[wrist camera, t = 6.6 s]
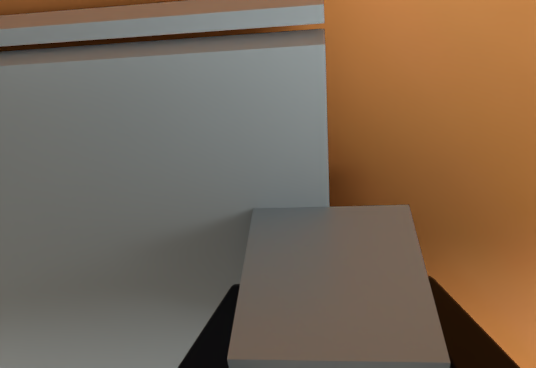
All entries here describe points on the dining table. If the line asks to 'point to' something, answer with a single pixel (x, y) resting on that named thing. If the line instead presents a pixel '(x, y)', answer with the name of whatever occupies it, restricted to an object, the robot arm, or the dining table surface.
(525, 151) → the dining table surface
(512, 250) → the dining table surface
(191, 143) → the lid
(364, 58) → the dining table surface
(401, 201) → the dining table surface
